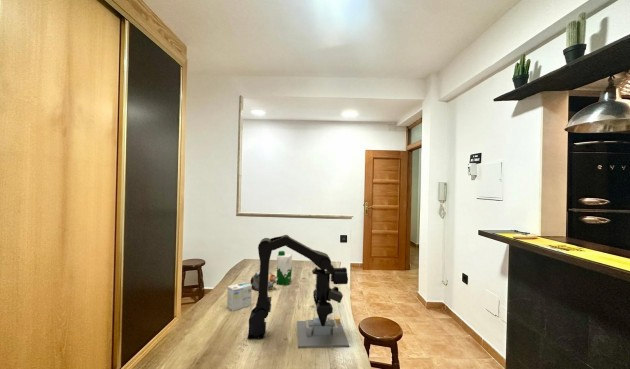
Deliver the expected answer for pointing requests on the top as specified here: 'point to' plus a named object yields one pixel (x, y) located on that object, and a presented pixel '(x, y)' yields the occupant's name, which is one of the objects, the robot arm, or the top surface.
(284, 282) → the milk carton
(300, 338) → the plate
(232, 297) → the light bulb box
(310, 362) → the top surface
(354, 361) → the top surface
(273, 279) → the lucky cat figurine
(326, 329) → the servo block
